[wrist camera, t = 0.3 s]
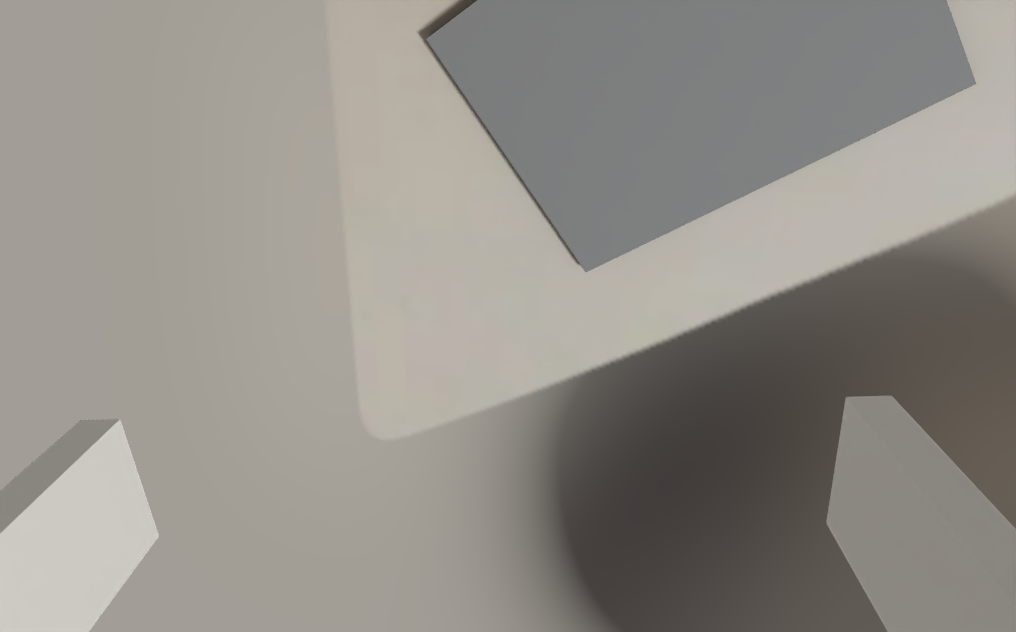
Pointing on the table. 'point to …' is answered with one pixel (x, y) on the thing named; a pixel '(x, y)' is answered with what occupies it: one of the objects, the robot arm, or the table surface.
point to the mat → (687, 97)
